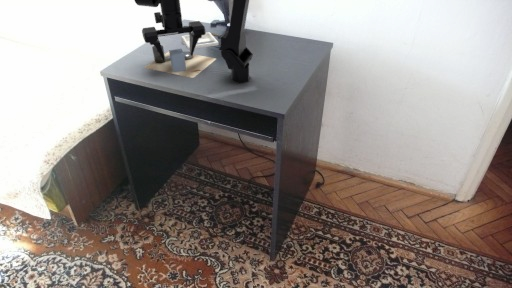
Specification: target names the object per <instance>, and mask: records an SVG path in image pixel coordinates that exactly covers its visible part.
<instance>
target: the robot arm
mask: <svg viewBox="0 0 512 288" xmlns="http://www.w3.org/2000/svg"><path fill="white" fill-rule="evenodd" d="M134 2H135V4H136V5H137V6H141V7H149V8H150V7H151V8H158V6H159V5H160V10H161V11H158V12H154V13H153V14H154V15H153V16H154V20H155V23H156V24H159V23H160V24H161V27H162V29H156V27H155V26H150V27H143V28H141V33H142V37H143V38H142V39H143V40H144V43H147V44H148V43H149V45H150V46H155V47H156V48H157V50H158V51H159V53H160V55H161V57H162V59H163V60H164V55H163V51H162V48H161V42H160V40H159V37H166V36H167V37H168V36H173V35H181V34H188V35H189V37H190V44H189V45H190V49H189V52H190V54H191V56H192V55H193V54H194V52H195V49H196V48H195V46H196V45H198V43H197V42H198V40H199V38H202V36H201V35H205V34H206V33H205V32H206V26H205V25H204V24H203V23H202V22H201V21H200V20H198V21H189V22H188V25H184V24H183V18H182V17H183V16H182V12H181V11H182V10H181V2H180V0H134ZM249 4H250V0H233V7H232V14H231V21H230V20H229V28H228V29H229V30H227V31H226V32H225V33H224V34H222V36H221V39H220V47H219V49H218V50H219V51H220V55H221V57H222V58H223V60H224V61H225V64H226V66H227V69H228V70H230V71H231V74H230V77H231V80H232V81H233V82H235V83H237V84H243V83H248V82H250V61H252V59H253V56H254V53H252V52H251V50H250V49H249V48H248V47H247V43H246V42H247V37H246V34H245V27H246V22H247V16H248V9H249ZM183 25H184V26H185V27H183Z"/></svg>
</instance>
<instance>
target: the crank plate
mask: <svg viewBox="0 0 512 288" xmlns="http://www.w3.org/2000/svg"><path fill="white" fill-rule="evenodd" d="M164 55H165V57H166V56H170V53H169V51H168V52H166V53H164ZM216 60H217V58H215V57H210V56H203V55H199V54H194V53H193V58H191V59H185V64H186V71H180V72H174V71H173V69H172V66H171V60H170V61H165V62H163V63H156V62H155V60H154V61H152V62H151V63H149V64H147V65H145V66H144V67H143V68H144V69H148V70H153V71H157V72H162V73H168V74H172V75H178V76H180V77H181V76H182V77H187V78H192V79H195V78H196V77H197V76H198V75H199V74H200V73H201V72H203V71H204V70H205V69H206V68H208V67H209V66H210V65H211V64H212V63H214V62H215V61H216Z"/></svg>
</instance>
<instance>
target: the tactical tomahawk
mask: <svg viewBox="0 0 512 288" xmlns="http://www.w3.org/2000/svg"><path fill="white" fill-rule="evenodd" d="M185 26H186V25H184V26H183V27H185ZM207 32H208V31H205V33H207ZM210 33H211V34H212V35H213V36H214V37H217V39H219V40H221V37H222V36H223V34H221V35H220V34H217V33H212V32H210Z"/></svg>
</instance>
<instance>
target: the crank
mask: <svg viewBox="0 0 512 288" xmlns="http://www.w3.org/2000/svg"><path fill="white" fill-rule="evenodd" d="M161 48H162V51H163V55H164V54H165V50H164V46H163V45H161ZM151 49H152V53H153V59H154V61H155V62H156V63H163V62H165V61H170V60H171V59H170V56H166V57H165V55H164V60H163V59H162V57H161V55H160V53H159V51H158V50H157V48H156V47H155V46H154V45H152V48H151ZM183 52H184V56H185V59H191V58H193V55H192V56H191V54H190V51H183Z"/></svg>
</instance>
